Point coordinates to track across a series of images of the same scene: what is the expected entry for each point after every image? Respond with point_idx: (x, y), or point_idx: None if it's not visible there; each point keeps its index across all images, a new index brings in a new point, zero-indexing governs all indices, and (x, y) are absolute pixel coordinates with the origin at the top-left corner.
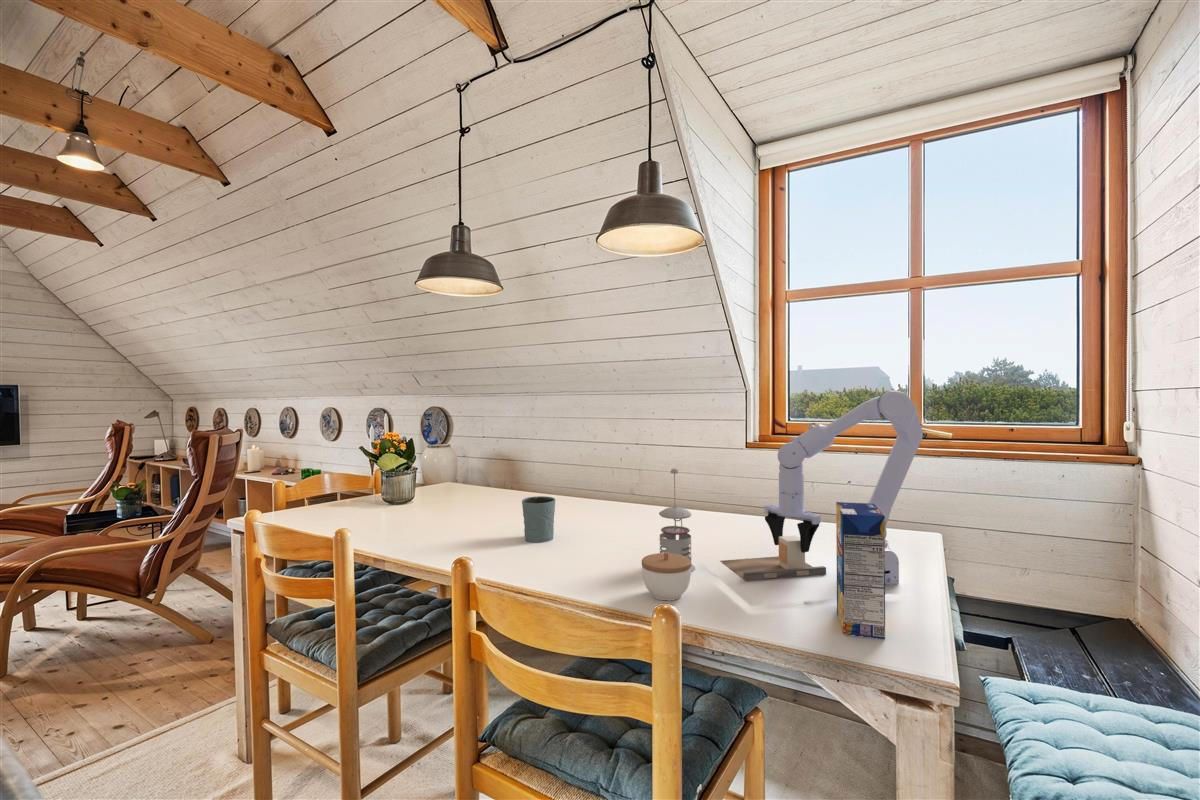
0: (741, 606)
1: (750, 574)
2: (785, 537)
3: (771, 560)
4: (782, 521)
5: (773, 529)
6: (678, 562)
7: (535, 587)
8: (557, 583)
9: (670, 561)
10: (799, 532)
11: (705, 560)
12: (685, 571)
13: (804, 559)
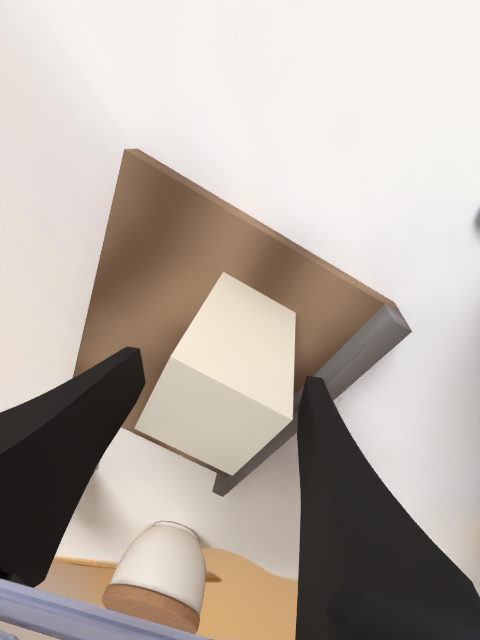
0: (292, 529)
1: (229, 488)
2: (169, 425)
3: (137, 303)
4: (23, 462)
5: (87, 473)
6: (175, 626)
7: (67, 554)
8: (63, 543)
9: (162, 624)
10: (299, 559)
11: (24, 378)
12: (198, 612)
13: (293, 340)
